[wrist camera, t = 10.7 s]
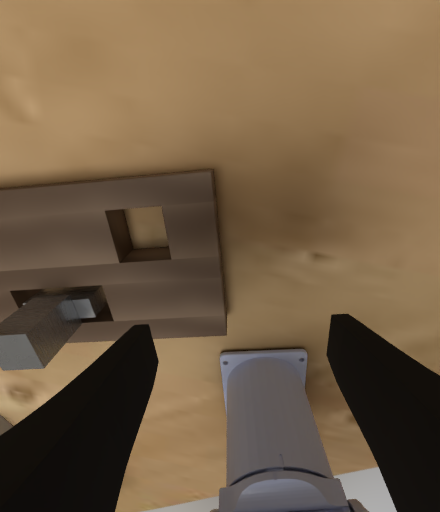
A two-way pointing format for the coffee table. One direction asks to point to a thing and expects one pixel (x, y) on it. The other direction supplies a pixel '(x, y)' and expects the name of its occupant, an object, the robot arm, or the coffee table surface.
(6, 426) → the lighter
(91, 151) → the coffee table surface
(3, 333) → the gray t-shaped block
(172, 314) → the stand
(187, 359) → the coffee table surface
